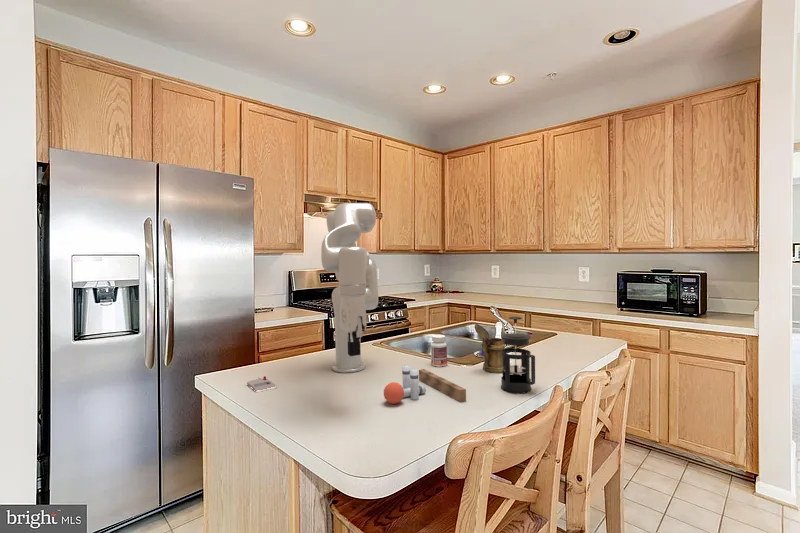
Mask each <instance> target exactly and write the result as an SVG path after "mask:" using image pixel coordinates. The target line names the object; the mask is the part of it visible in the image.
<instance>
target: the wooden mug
mask: <svg viewBox="0 0 800 533" xmlns="http://www.w3.org/2000/svg"><path fill="white" fill-rule="evenodd" d="M474 331H475V332H476V333H477V335H478V336H479V337H481V339H482V341H481V344H482V353H483V355H484V357H483V358H484V362H483V365H482V370H483V371H484V372H487V371H488V373H491V372H493V373H492V374H501V373H502V372H503V369H502V368H503V356H501V350H503V349H506V346H505V345H506V344H503V340H502V338H501V337H500V338H499V337H490V334H489V332H488V331H487V329H486V328H485V327H483V326H482V325H480V324H478V323H476V324H474ZM502 374H503V373H502Z"/></svg>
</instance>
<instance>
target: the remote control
mask: <svg viewBox="0 0 800 533" xmlns="http://www.w3.org/2000/svg"><path fill="white" fill-rule="evenodd" d="M258 378H259V379H253V380H249V381H247V383H246V384H248V385H249V386H250V387H252V388H253V389H254V390H255V391H257V390H263V389H267V388H271V387H275V386H276V384H275V383H274V382H273V381H271V380H269V379H268V378H267V376H266V375H264V376H263V378H260V377H258ZM248 385H247V386H248ZM249 386H248V387H249ZM250 387H249V388H250ZM253 389H252V390H253ZM254 390H253V391H254ZM255 391H254V392H255Z"/></svg>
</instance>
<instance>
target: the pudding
mask: <svg viewBox="0 0 800 533" xmlns="http://www.w3.org/2000/svg"><path fill="white" fill-rule="evenodd" d="M477 353H479V354H478V356H477V355H476V354H477ZM473 354H474V356H477V357H479V358H481V357H482V356H484V355H483V353H482V343H480V347H479V350H478V351H475V352H474V353H473ZM479 355H482V356H479Z"/></svg>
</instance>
